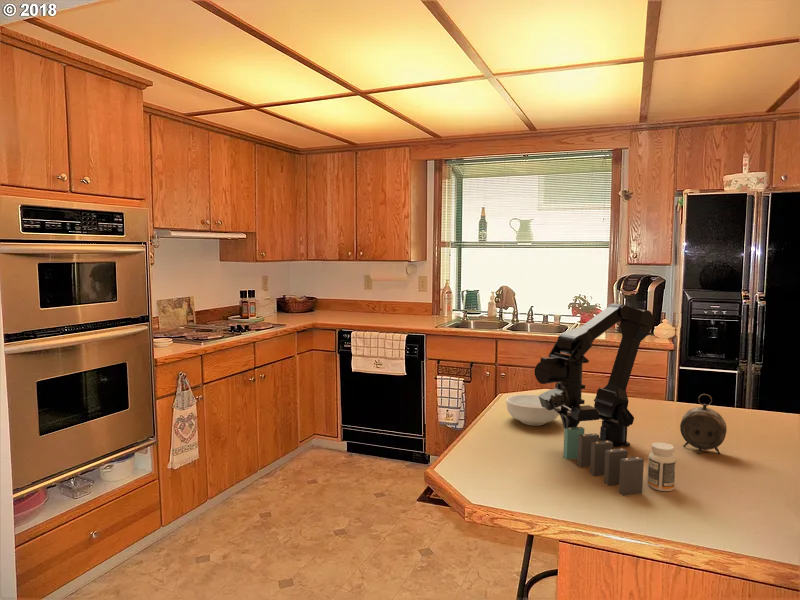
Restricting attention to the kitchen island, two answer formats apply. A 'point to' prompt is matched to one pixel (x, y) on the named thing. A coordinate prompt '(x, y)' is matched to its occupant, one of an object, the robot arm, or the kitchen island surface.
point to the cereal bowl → (529, 410)
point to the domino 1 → (571, 442)
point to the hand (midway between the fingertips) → (568, 436)
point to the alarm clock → (703, 428)
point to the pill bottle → (661, 467)
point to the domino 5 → (631, 476)
